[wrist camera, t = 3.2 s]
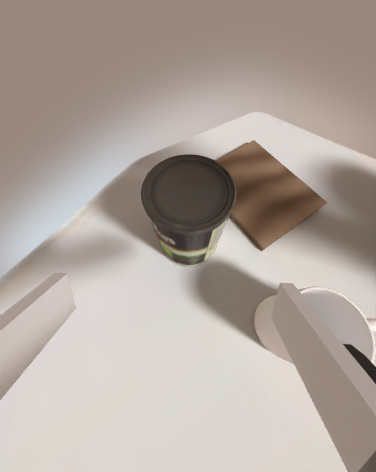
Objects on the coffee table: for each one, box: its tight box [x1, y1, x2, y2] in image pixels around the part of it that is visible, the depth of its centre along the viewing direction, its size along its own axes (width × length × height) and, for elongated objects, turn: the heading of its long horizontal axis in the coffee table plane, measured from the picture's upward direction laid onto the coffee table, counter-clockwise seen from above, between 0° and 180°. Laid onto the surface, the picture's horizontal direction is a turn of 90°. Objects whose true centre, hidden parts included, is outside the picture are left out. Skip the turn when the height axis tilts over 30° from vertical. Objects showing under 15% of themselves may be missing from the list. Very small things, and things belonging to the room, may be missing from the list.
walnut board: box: [216, 140, 327, 251], centre depth 36 cm, size 20×16×1 cm
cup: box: [254, 287, 376, 364], centre depth 22 cm, size 8×12×10 cm
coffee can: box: [141, 155, 237, 267], centre depth 26 cm, size 10×10×14 cm
